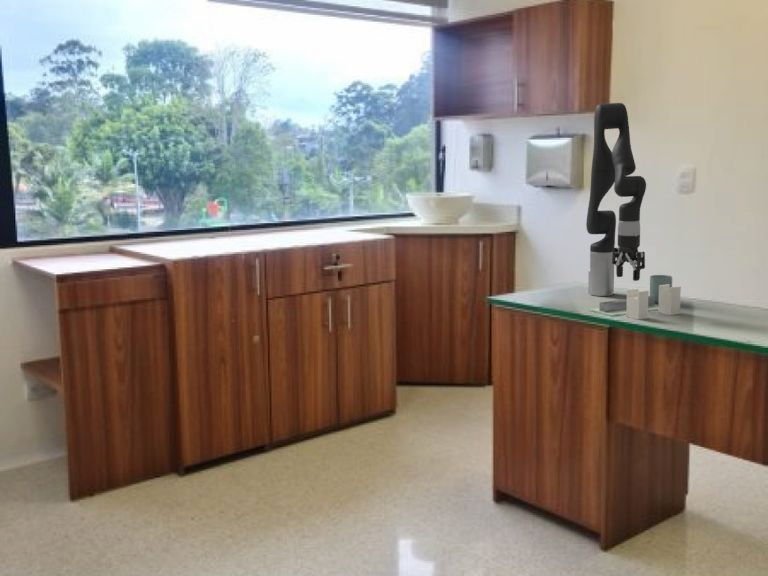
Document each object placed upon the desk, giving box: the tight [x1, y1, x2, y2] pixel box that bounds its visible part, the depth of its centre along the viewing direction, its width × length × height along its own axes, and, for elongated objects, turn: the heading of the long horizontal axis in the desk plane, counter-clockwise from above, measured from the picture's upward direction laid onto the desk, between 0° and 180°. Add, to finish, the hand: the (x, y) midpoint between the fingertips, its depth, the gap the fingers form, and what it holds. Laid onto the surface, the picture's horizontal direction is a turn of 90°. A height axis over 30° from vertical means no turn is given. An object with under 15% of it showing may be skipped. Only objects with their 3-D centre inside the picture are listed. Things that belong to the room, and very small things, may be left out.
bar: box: [598, 295, 655, 312], centre depth 275 cm, size 3×22×3 cm, turn 113°
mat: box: [588, 304, 658, 317], centre depth 275 cm, size 12×24×1 cm, turn 113°
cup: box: [649, 274, 673, 305], centre depth 284 cm, size 8×8×10 cm
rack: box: [625, 284, 682, 320], centre depth 264 cm, size 6×18×10 cm, turn 113°
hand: (627, 278), depth 273 cm, fingers open, 8 cm apart
